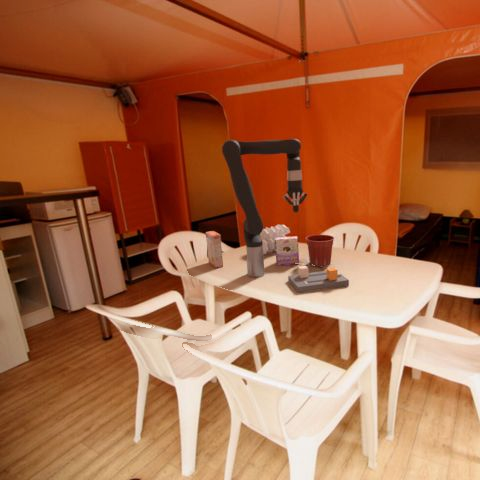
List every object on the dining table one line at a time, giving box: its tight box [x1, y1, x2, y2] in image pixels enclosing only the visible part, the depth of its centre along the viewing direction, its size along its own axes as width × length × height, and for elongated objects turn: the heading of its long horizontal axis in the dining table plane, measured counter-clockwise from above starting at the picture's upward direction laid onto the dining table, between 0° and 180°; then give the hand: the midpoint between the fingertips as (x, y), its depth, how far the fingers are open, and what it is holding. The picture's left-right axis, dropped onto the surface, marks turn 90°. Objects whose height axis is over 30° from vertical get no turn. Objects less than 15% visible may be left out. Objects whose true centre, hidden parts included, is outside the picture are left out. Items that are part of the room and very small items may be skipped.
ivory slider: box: [297, 265, 309, 278], centre depth 169 cm, size 4×4×5 cm
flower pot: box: [305, 234, 335, 268], centre depth 194 cm, size 16×16×16 cm
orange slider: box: [325, 267, 339, 281], centre depth 163 cm, size 4×4×5 cm
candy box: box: [275, 235, 300, 266], centre depth 200 cm, size 14×6×16 cm, turn 84°
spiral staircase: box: [260, 224, 291, 255], centre depth 227 cm, size 18×18×25 cm
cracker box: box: [205, 230, 224, 269], centre depth 208 cm, size 14×6×21 cm, turn 22°
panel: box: [287, 270, 350, 294], centre depth 167 cm, size 26×16×4 cm, turn 99°
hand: (295, 212), depth 174 cm, fingers closed
